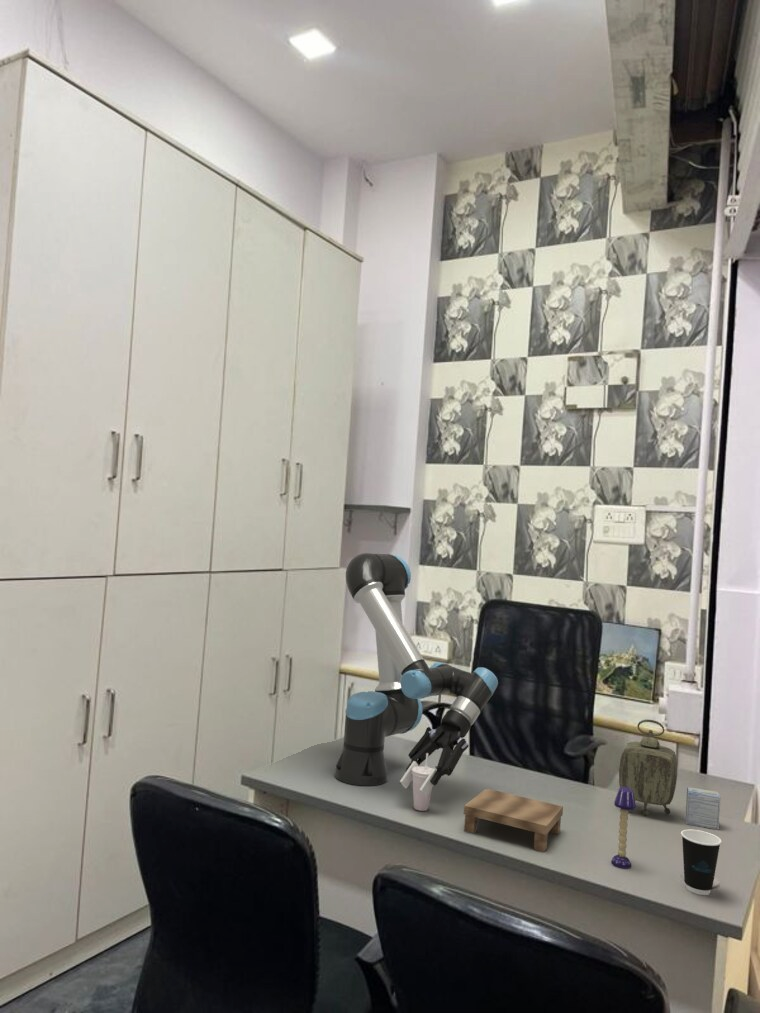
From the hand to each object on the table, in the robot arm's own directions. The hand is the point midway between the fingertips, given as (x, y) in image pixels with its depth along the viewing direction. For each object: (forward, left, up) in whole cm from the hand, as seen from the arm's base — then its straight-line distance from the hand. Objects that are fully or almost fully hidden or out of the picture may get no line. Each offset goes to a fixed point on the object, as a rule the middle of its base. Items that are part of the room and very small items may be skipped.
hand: (412, 788), depth 189 cm
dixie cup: (+67, -2, -6) cm, 68 cm away
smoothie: (+1, +3, -6) cm, 7 cm away
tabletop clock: (+51, +41, -6) cm, 66 cm away
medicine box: (+65, +42, -6) cm, 78 cm away
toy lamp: (+51, +1, -6) cm, 52 cm away
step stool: (+25, +4, -6) cm, 26 cm away
